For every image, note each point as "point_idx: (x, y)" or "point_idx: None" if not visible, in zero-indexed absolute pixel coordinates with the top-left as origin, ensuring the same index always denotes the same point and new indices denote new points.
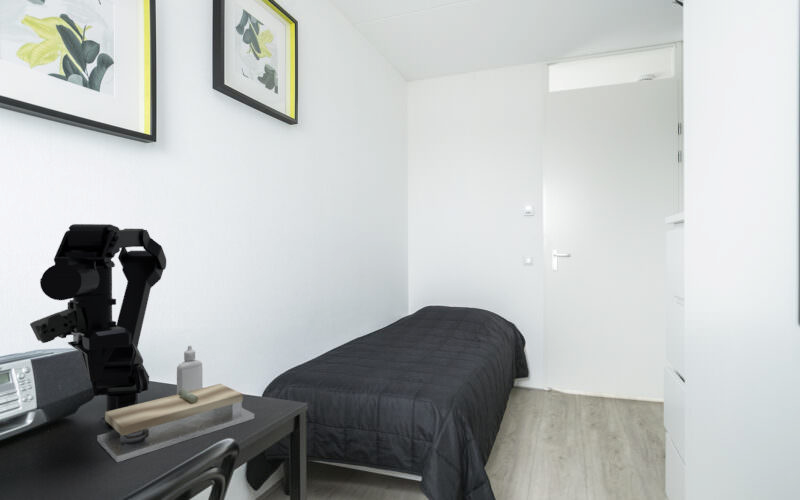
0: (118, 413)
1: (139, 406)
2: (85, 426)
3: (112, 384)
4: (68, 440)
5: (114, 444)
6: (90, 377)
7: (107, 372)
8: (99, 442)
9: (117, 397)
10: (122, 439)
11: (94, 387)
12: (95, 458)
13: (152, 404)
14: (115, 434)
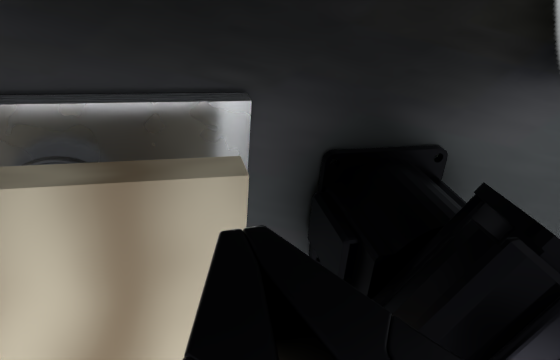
0: (166, 218)
1: (197, 301)
2: (445, 94)
3: (407, 286)
4: (355, 8)
5: (79, 130)
6: (216, 253)
7: (466, 324)
8: (213, 94)
9: (377, 253)
10: (35, 164)
11: (500, 207)
12: (42, 40)
13: (177, 344)
14: (202, 157)
